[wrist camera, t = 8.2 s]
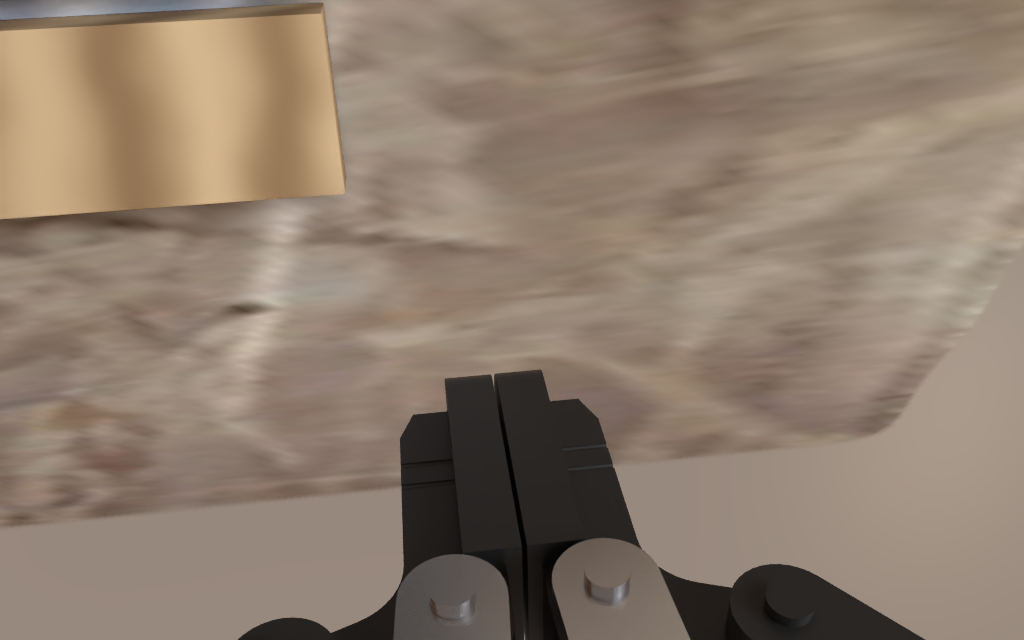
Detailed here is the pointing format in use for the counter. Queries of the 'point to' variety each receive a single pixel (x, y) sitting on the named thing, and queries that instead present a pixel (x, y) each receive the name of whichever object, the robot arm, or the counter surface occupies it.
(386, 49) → the counter surface
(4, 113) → the oak plank
